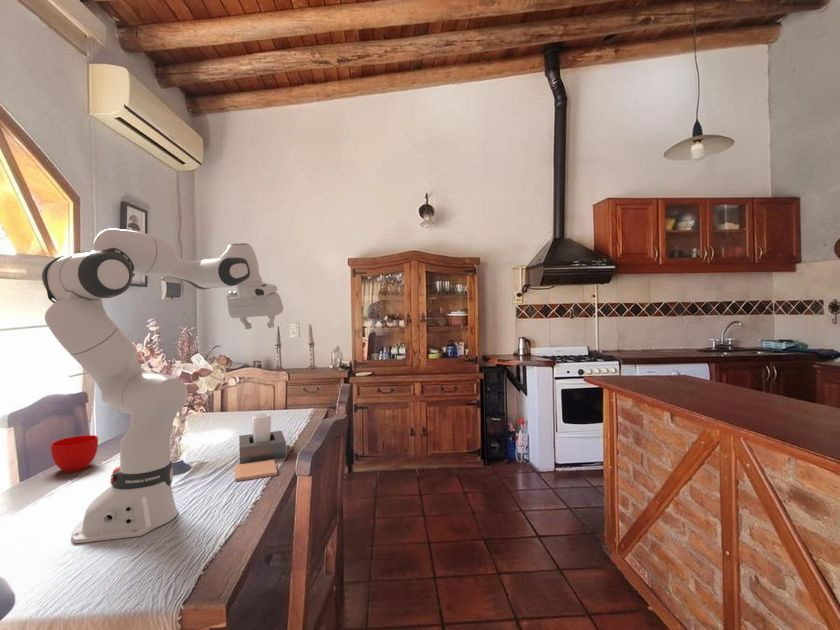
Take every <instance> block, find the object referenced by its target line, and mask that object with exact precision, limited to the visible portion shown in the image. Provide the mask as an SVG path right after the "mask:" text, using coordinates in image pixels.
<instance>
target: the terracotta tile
mask: <svg viewBox="0 0 840 630" xmlns="http://www.w3.org/2000/svg"><path fill="white" fill-rule="evenodd" d="M234 470H235V471H234V472H235V473H234V475H235V477H234V478H235V479H234V481H235V482H239V481H240V482H241V481H246V480H253V479H260V478H266V477H272V476H278V470H277V464H276V461H275V459H272V460H265V461H258V462H251V463H244V464H240V463H239V464H235V466H234Z"/></svg>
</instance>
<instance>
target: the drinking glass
mask: <svg viewBox="0 0 840 630" xmlns="http://www.w3.org/2000/svg"><path fill="white" fill-rule="evenodd" d="M251 416H252V417H251V418H252V419H251V420H252V421H251V425H252V426H251V427H252V434H253V438H254V443H257V442H265V441H270V432H272V431H271V430H272V429H271V428H272V416H271V413H264V412H263V413H262V412H261V413H257V414H253V415H251Z"/></svg>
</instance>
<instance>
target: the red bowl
mask: <svg viewBox="0 0 840 630" xmlns="http://www.w3.org/2000/svg"><path fill="white" fill-rule="evenodd" d="M98 446H99V436H97V435H93V434H92V435H91V434H89V435H85V434H84V435H76V436H71V437H66V438H62V439H59V440H58V439H57V440H56V441H54V442H52V443H51V445H50V451H51V457H52V460H53V462H54V464H55V466H56V467H58V468H59V469H60V470H61V471H63V472H64V473H73V472H78V471H82V470H84V469H86V468H88V467H89V465H90V464H91V463H92V462H93V460H94V459H95V457H96V454H97V451H98Z"/></svg>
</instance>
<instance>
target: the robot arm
mask: <svg viewBox="0 0 840 630" xmlns="http://www.w3.org/2000/svg"><path fill="white" fill-rule="evenodd" d="M92 244H93V245H92V250H91V251H89V252H78V253H72V254H69V255H62V256H59V257H56V258H54V259H52V260H51V261H49V262H48V263H46V265H45V266H44V268H43V270H42V273H41V279H42V284H43V287H44V288H45V290H46V294H47V298H48V300H49V301H51V303H52V304H51V305H50V306H49V307H48V309H47V310H46V311H45V314H44V320H45V323H46V325H47V327H48V328H49V330H50V333H52V334H53V336H54V337H55V339H56V340H57V341H58V342H59V343H60V345H61V346H62V347H63V348H64V349H65V351H67V352H68V353H69V355H70V356H71V357H72V358H74V359H75V361H76V362H78V363H79V365H81V367H82V368H83V369H84V370H85V371H86V372H87V373H88V374H89V375H90V377H92V379H93V380H94V382H95V384H96V385H97V387H98V388H99V390H100V393H101V399H102V401H103V403H104V404H105V405H106V406H108V407H109V408H111V409H113V410H115V411H117V412H119V413H125V414H129V415H130V414H131V419H130V423H129V427H128V430H127V433H126V434H125V435H123V437H122V438H121V439H120V442H119V464H120V465H119V466H117V467H115V468H114V469H113V471H112V473H111V476H110V484H111V486H110V487H108V488H106V490H104V491H103V492H101V494H100V495H98V496H97V497H96V498H94V500H93V501H91V502H90V504H89V505H88V507H87V508H86V509H85V512H84V517H83V520H82V521H80V522H79V523H78V524H77V525H76V526H75V528H74V529H73V531H72V533H71V542H72V543H73V544H82V543H91V542H99V541H109V540H118V539H124V538H134V537H141V536H144V535H145V534H146V535H147V534H148V533H150V531H152V530H154V529H157V528H159V527H161V526H163V525H166V524H168V523H169V522H171V521H172V520H173V519H175V518H176V516H177V515H178V513H179V512H178V511H179V510H178V509H177V506H176V503H175V499H174V494H173V493H174V492H173V488H172V482H173V477H174V476H173V474H174V473H173V465H172V464H173V463H172V461H171V456H170V455H171V432H172V427H173V424H174V422H175V418H176V416H177V414H178V413H179V412H180V411H181V410H182V409H183V408H184V407H185V405H186V403H187V401H188V398H189V392H188V391H189V390H188V386H187V385H186V383H184V382H183V380H181V379H179V378H177V377H174V376H172V375H170V374H166V373H154V372H149V371H147V370H145V369H144V368H143V367H142V366H141V363H140V362H139V360H138V358H137V357H138V349H137V347H136V346H135V345H134V344H133V342H132V341H131V340H130V339H129V338H128V337H127V335H125V333H124V332H123V331H122V330H121V328H120V327H119V326H118V325H117V324H116V323H115V322H114V320H113V319H112V318H111V317H110V316H109V315H108V314H107V312H106V310H105V308H104V304H103V299H110V298H111V299H112V298H114V297H115V298H116V297H117V296H119V295H122V294H123V293H125V292H126V291H127V290H128V289H129V288H130V286H131V285H132V281H133V278H134V277H133V276H134V274H135V275H139V276H145V277H153V278H154V277H158V278H159V277H162V278H164V277H169V278H173V279H179V280H182V281H185V282H187V283H188V284H190V285H192V286H193V287H195V288H196V289H199V290H209V289H219V288H232V287H234V286H235V287H234V288H235V291H229V292H228V293H227V294H226V300H227V310H228V313H229V314H228V315H229V316H230V318H232V319H237V318H239V321H240V322H241V323H242V324H243V326H244V329H245V330H250V329H253V326H252V322H249V321H248V320H247V319H248V318H251V317H252V318H253V317H268V319H269V321H268V322H267V323H266V324H267V325H266V326H267V328H269V329H272V328H274V327H275V323H274V322H275V319H276V316H279V315H280V314H282V313H283V312H284V306H283V301H282V299H281V295H280V294H279V293H278V292H277V291H278V287H277V285H275V284H272V283H268V282H264V281H263V279H262V277H261V274H260V271H259V269H260V266H259V263H258V258H257V255H256V252H255V250H254V248H253V247H252V245H251V244H249V243H242V242H240V243H230V244H228V245H227V248H226V250H225V251H224V252H223V253H222V254H221V255H220V256H218V257H214V258H213V257H212V258H198V259H194V260H187V259H184V258H179V257H178V253H177V249H176V247H175V246H174V244H173V243H171V242H170V241H169V240H166V239H163V238H162V237H159V236H156V235H152V234H150V233H149V234H148V233H144V232H140V231H135V230H127V229H120V228H107V229H104V230H102V231H100V232H99V233H98V234H97V235H96V236H95V238H94V240H93V243H92Z"/></svg>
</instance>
